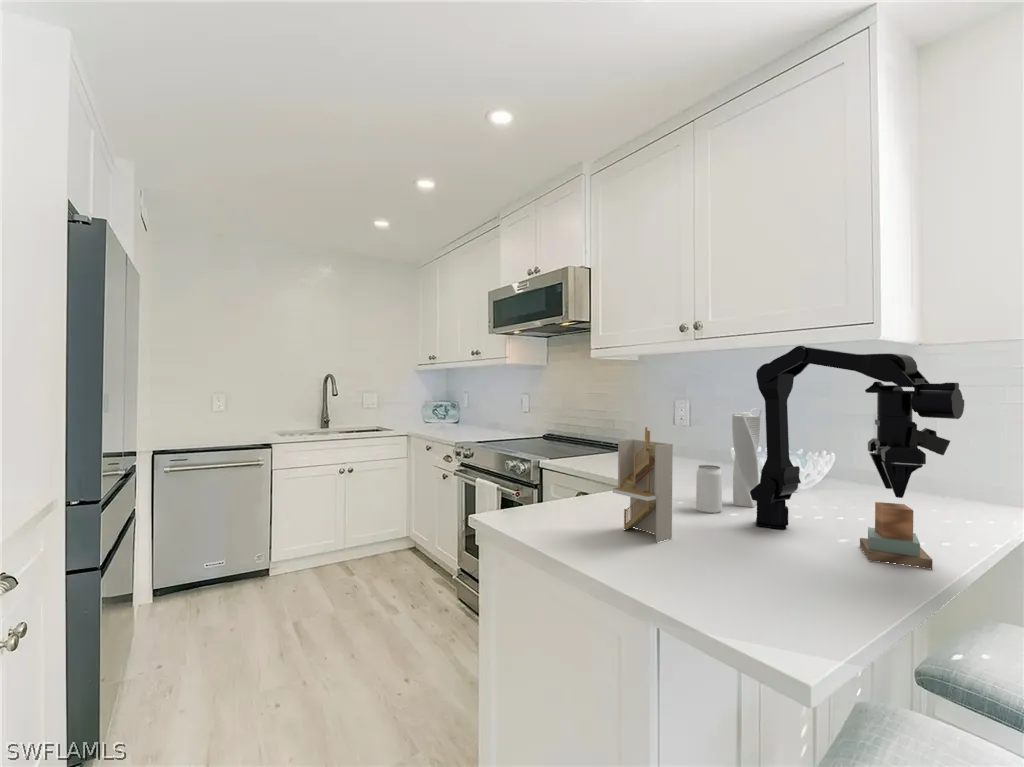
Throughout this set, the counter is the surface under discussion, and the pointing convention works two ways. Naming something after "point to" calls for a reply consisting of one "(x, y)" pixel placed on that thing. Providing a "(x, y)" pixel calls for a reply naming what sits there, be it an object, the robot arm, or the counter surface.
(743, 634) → the counter surface
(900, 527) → the block
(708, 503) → the can
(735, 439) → the skyscraper
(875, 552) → the tower base
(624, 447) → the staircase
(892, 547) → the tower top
